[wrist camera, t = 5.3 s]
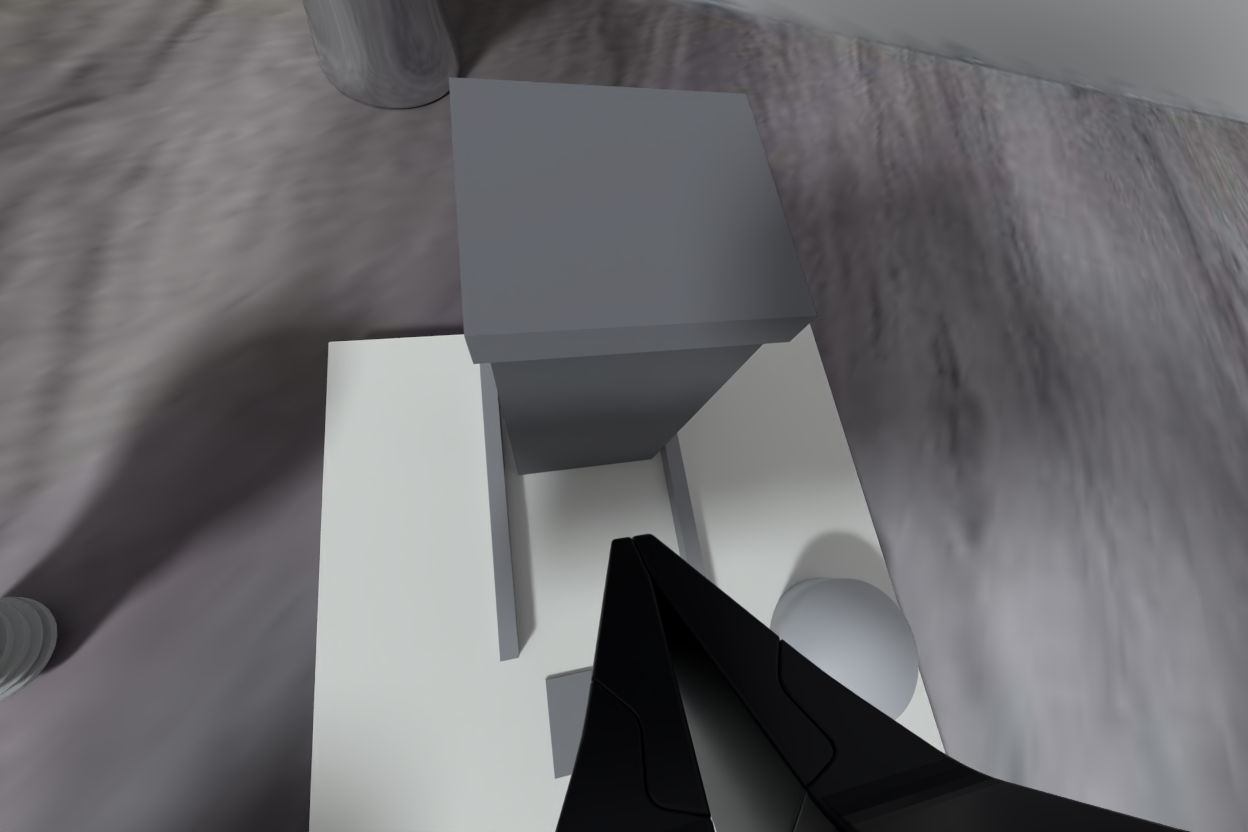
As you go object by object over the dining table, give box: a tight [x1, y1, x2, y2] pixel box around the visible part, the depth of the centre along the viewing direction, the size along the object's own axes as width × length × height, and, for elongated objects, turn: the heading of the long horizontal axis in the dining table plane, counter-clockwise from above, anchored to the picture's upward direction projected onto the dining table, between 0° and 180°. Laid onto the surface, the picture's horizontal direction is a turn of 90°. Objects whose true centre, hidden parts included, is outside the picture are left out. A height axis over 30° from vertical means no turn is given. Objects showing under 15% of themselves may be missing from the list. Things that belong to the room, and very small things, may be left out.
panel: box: [309, 323, 945, 832], centre depth 13 cm, size 28×18×3 cm, turn 9°
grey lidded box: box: [449, 77, 817, 475], centre depth 11 cm, size 4×5×10 cm
